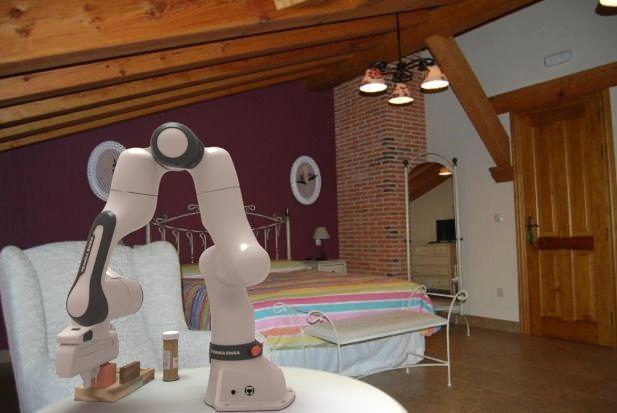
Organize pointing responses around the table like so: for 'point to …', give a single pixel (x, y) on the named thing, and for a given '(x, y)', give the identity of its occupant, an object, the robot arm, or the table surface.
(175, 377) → the sprinkles bottle
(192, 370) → the table surface
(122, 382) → the wooden block stand
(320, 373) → the table surface
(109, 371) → the brick-red block
